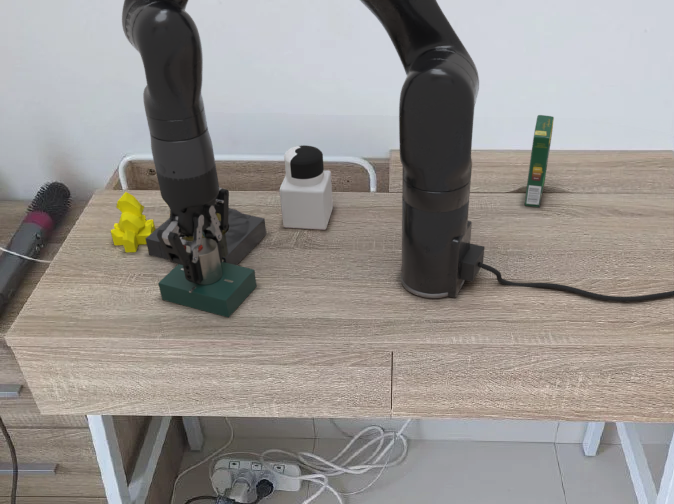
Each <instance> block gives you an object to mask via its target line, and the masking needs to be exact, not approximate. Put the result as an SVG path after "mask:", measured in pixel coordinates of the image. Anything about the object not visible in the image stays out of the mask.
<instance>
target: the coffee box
mask: <svg viewBox="0 0 674 504" xmlns="http://www.w3.org/2000/svg"><path fill="white" fill-rule="evenodd" d="M554 120H555V117H554V116H551V115H543V114H538V115H537V117H536V122H535V128H534V133H533V138H532V144H531V145H532V146H531V153H530V161H529V168H528V175H527V183H526V190H525V199H524V206H525V207H533V208H540V207H541V202H542V198H543V195H544V190H545V188H544V187H545V181H546V175H547V170H548V163H549V157H550V150H551V143H552V136H553V129H554Z"/></svg>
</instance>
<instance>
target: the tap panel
mask: <svg viewBox="0 0 674 504" xmlns="http://www.w3.org/2000/svg"><path fill="white" fill-rule="evenodd" d="M223 261H224V260H223V259H222V262H221V269H222V277H221V279H220V280H218V281H217V282H215V283H212V284H208V285H200V284H196V283H193V282H189V281H188V280H187V279H186V278H185V273H184V268H183V265H180V264H176V266H175V267H173V268H172V269H171V270H170V271H169V272H168V273H166V275H165V276H164V277H163V278H162V279H161V280H159V281H158V283H157V284H158V288H159V292H160V296H161V300H162V301H165V302H169V303H173V304H177V305H180V306H183V307H187V308H192V309H194V310H199V311H203V312H207V313H210V314H214V315H219V316H222V317H225V318H230V317H231V316H232V314H234V312H235V311H236V310H237V309H238V308H239V306H241V304H242V303H244V301H245V300H246V299H247V298H248V296H250V294H251V293H252V292H253V291H255V289H256V288H257V286H258V285H257V278H256V271H255V269H253V268H249V267H245V266H241V265H238V264H237V265H233V264H229V263H225V262H223Z"/></svg>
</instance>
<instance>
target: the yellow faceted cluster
mask: <svg viewBox="0 0 674 504" xmlns="http://www.w3.org/2000/svg"><path fill="white" fill-rule="evenodd" d="M115 207H116V209H117V210H119V211H120V213H121V214H120V217H119V220H118V222H114V225H113V228H111V230H110V235H111V239H112V242H113V245H114V246H123V248H124V252H125V253H127V254H128V253H137V250H138V248H139V246H140V245H141V246H142V245H147V243H146V239H145V238H147V237H148V236H149V235H150V234H151V233H152V232H154V231H155V230H156V229H157V228H156V225H155V221H154V219H147V216H146V215H145V214H144V213H143V212H144V209H145V206H144V205H143V204H142V203H140V201H139V200H138V199H137V198H136V197H135V195H133V194H132V193H129V192H127V191H125V192H124V193H123V194H122V195H121V196H120V198H119V199H118V200H117V201H116V206H115Z"/></svg>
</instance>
